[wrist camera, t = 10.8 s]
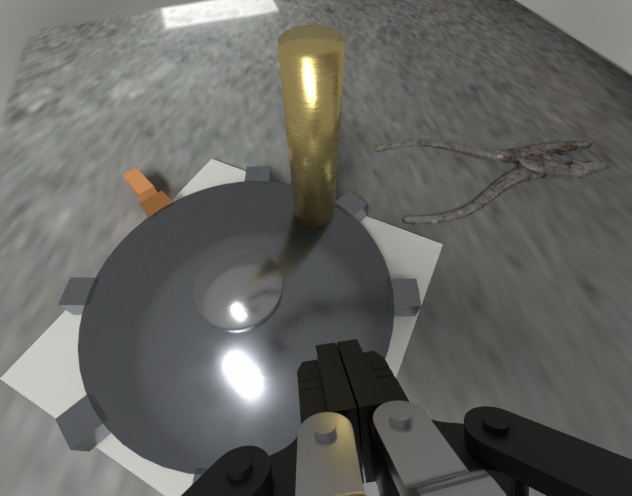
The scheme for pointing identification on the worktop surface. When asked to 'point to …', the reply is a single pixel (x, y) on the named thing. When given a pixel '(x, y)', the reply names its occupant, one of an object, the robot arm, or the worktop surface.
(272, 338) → the sprocket
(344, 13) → the worktop surface
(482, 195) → the pliers
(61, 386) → the base plate
